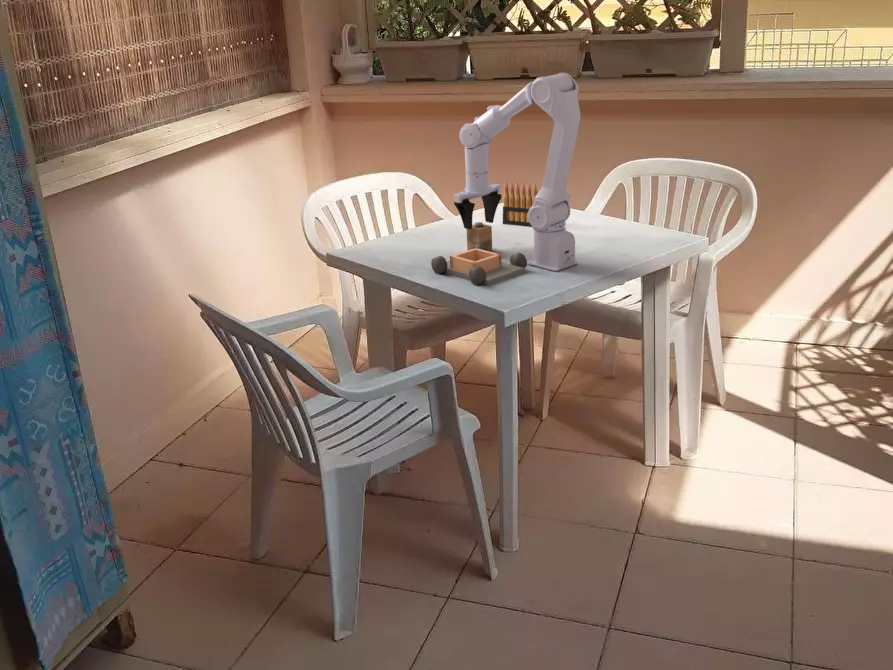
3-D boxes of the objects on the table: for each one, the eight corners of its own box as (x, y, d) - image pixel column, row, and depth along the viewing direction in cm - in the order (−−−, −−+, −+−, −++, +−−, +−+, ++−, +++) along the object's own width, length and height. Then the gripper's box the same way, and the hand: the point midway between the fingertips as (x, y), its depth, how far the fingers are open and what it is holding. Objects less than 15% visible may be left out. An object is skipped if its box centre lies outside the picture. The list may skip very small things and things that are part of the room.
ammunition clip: (502, 224, 249) (501, 182, 245) (505, 222, 251) (504, 180, 246) (537, 227, 244) (536, 184, 240) (539, 225, 246) (539, 183, 241)
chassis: (528, 271, 209) (528, 254, 207) (482, 287, 199) (482, 269, 198) (475, 256, 221) (475, 240, 219) (430, 271, 212) (429, 254, 210)
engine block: (492, 250, 226) (491, 222, 223) (479, 254, 223) (478, 226, 220) (480, 247, 229) (479, 220, 226) (467, 251, 226) (466, 223, 223)
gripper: (486, 165, 225) (487, 216, 231) (444, 175, 217) (447, 228, 222) (506, 168, 221) (507, 221, 226) (464, 178, 212) (466, 233, 217)
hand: (478, 225), depth 223 cm, fingers open, 7 cm apart
